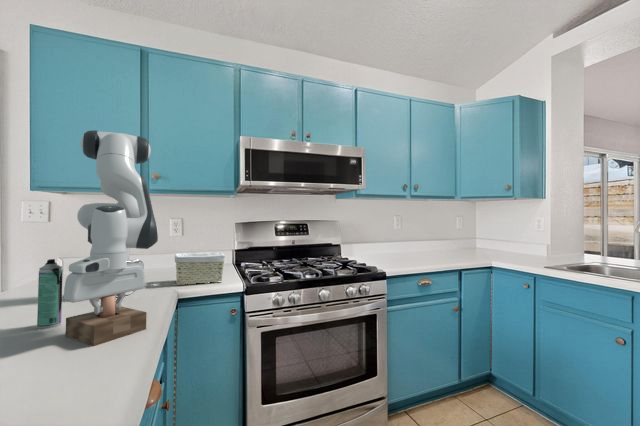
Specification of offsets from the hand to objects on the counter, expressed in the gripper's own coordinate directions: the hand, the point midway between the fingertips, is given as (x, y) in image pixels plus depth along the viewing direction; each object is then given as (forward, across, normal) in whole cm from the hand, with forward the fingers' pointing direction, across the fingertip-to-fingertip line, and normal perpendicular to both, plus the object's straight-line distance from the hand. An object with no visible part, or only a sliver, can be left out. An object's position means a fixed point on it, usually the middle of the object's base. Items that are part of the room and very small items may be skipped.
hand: (107, 311), depth 89 cm
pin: (+3, 0, 0) cm, 3 cm away
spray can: (+6, +5, -21) cm, 22 cm away
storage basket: (+7, -64, -35) cm, 74 cm away
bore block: (+6, 0, 0) cm, 6 cm away
